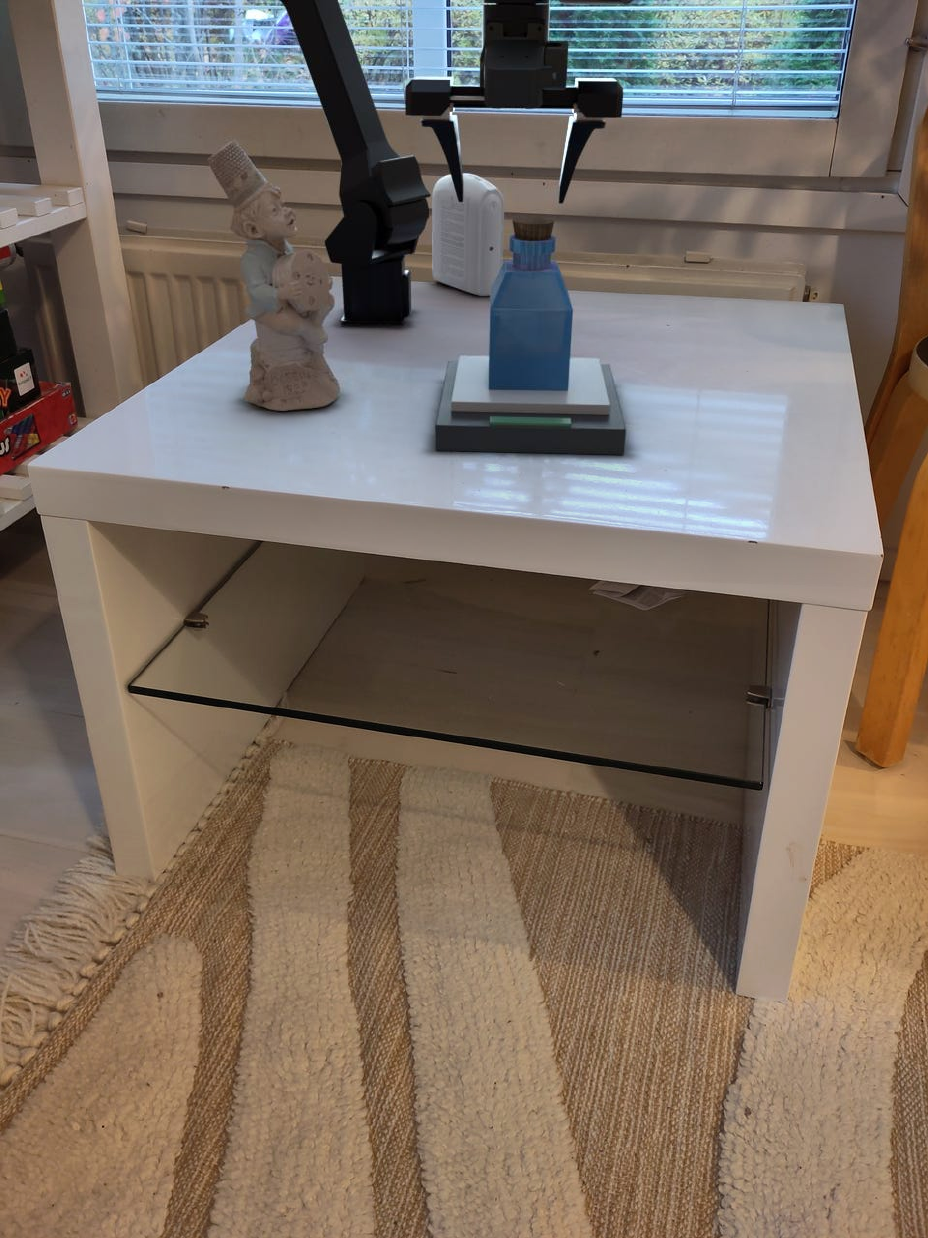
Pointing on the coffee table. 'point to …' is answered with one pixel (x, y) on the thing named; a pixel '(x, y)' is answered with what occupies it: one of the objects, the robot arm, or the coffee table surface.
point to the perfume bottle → (530, 314)
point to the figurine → (278, 291)
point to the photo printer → (467, 234)
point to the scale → (530, 412)
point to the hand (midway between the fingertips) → (510, 202)
